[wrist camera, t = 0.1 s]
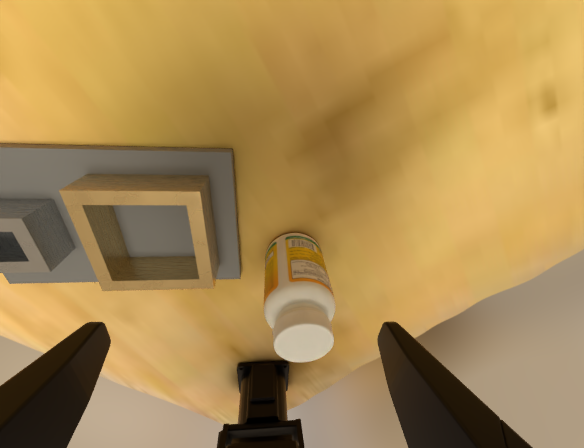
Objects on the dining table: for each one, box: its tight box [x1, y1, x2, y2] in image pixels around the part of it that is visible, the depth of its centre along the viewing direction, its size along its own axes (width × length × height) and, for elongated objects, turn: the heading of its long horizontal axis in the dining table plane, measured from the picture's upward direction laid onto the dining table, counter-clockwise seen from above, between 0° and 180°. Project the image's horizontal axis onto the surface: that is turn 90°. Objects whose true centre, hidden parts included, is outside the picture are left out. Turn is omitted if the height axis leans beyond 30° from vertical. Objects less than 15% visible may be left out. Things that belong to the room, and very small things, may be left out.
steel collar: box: [0, 199, 76, 273], centre depth 19 cm, size 4×4×3 cm
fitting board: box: [0, 143, 241, 284], centre depth 22 cm, size 12×20×1 cm, turn 87°
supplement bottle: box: [264, 233, 335, 363], centre depth 21 cm, size 5×5×10 cm
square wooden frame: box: [59, 174, 220, 291], centre depth 20 cm, size 8×8×3 cm
